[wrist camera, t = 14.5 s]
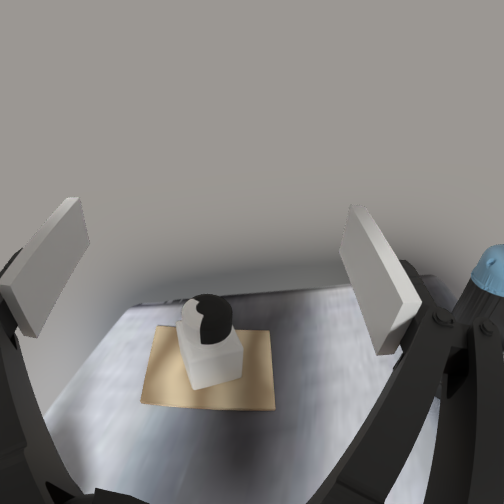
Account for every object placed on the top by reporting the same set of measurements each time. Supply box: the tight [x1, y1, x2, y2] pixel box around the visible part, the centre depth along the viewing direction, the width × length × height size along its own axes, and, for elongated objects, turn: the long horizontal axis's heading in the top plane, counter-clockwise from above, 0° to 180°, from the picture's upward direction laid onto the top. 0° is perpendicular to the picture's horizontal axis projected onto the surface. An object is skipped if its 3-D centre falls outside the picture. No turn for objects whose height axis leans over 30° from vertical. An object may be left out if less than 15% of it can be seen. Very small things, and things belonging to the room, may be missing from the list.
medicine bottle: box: [176, 294, 243, 390], centre depth 41 cm, size 7×7×12 cm
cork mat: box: [140, 326, 275, 411], centre depth 44 cm, size 18×14×1 cm
